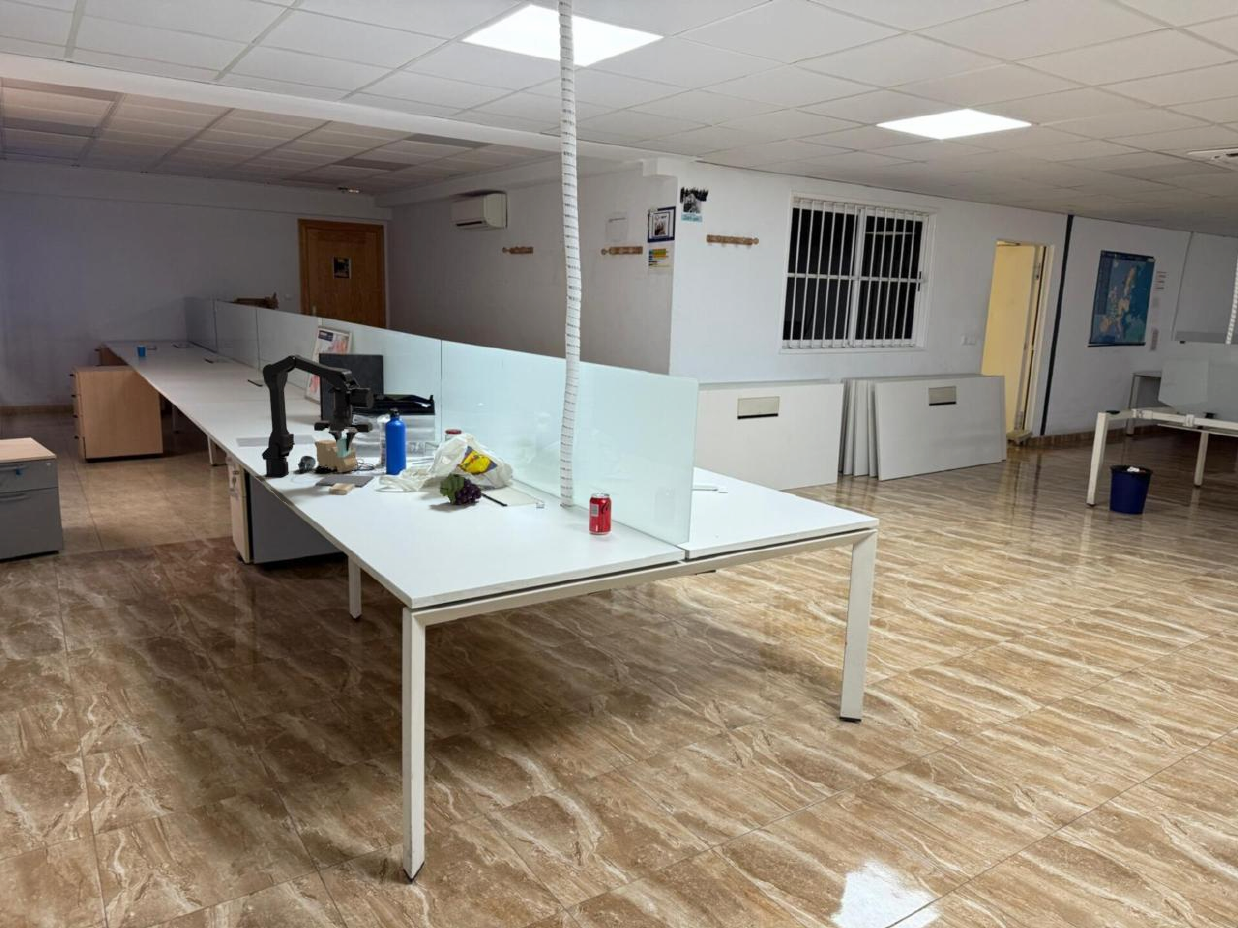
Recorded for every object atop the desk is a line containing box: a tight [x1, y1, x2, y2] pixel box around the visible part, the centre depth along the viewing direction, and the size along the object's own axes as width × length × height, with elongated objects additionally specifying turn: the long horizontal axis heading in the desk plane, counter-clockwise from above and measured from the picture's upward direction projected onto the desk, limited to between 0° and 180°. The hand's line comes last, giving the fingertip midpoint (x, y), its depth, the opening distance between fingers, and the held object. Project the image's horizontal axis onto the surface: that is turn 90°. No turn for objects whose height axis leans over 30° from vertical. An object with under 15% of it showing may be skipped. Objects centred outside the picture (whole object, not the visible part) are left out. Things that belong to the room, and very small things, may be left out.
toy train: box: [314, 439, 359, 473], centre depth 321 cm, size 6×17×10 cm, turn 57°
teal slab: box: [337, 435, 351, 458], centre depth 301 cm, size 2×8×6 cm, turn 179°
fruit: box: [438, 472, 482, 506], centre depth 282 cm, size 10×11×15 cm
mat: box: [315, 473, 375, 488], centre depth 304 cm, size 16×14×1 cm
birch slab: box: [328, 483, 356, 495], centre depth 291 cm, size 6×8×2 cm
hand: (344, 451), depth 302 cm, fingers closed on teal slab, 2 cm apart
